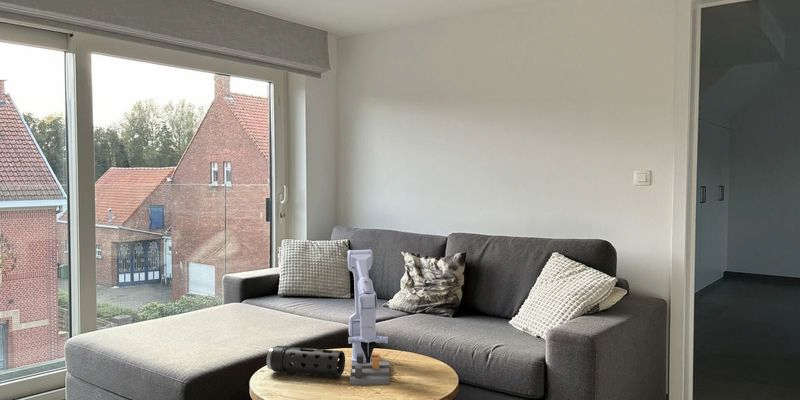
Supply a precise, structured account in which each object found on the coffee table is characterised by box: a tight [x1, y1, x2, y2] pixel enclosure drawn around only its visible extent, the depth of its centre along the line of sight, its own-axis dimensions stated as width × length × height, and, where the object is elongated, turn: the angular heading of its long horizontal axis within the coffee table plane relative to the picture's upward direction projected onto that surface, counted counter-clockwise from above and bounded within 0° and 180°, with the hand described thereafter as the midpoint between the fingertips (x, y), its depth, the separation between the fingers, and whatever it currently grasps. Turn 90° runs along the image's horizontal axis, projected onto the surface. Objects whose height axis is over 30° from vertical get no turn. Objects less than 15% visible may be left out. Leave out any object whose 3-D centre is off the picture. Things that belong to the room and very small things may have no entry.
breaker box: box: [349, 354, 390, 386], centre depth 225 cm, size 20×14×6 cm
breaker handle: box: [371, 353, 381, 369], centre depth 225 cm, size 4×3×5 cm
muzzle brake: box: [266, 345, 346, 379], centre depth 226 cm, size 10×28×10 cm, turn 76°
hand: (368, 362), depth 225 cm, fingers closed
